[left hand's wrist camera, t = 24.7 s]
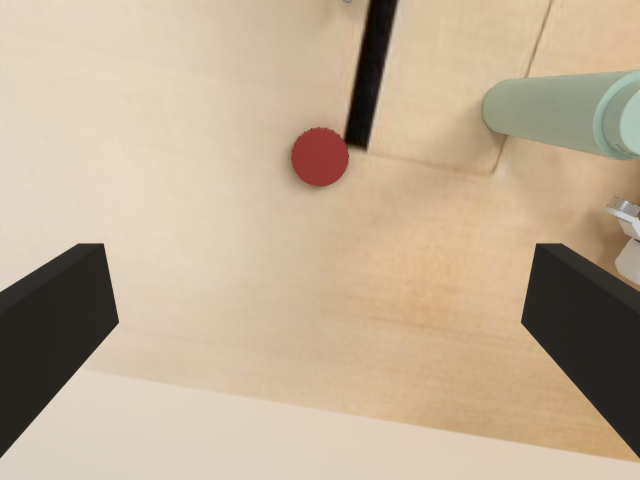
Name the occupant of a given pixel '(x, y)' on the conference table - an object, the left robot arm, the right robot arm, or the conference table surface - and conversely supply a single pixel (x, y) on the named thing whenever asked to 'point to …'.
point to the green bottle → (571, 112)
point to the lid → (320, 156)
